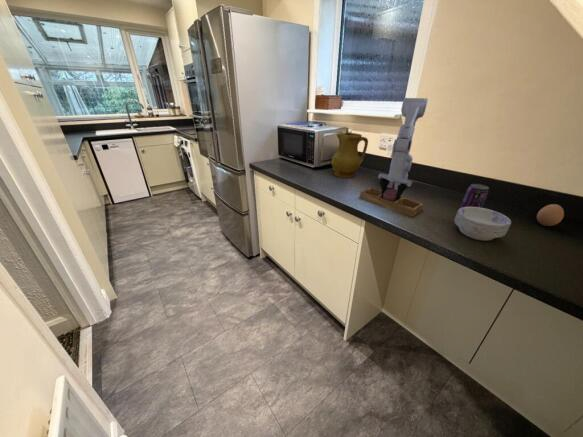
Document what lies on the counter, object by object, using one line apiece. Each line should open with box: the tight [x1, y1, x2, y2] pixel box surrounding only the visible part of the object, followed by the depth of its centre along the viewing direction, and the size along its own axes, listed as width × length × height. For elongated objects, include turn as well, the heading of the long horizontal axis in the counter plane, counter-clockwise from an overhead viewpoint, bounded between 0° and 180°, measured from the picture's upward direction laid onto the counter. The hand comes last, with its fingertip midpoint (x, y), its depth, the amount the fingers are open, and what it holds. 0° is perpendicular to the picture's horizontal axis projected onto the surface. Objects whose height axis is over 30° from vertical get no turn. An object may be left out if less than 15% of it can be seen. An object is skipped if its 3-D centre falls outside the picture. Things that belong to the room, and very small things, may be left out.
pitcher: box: [331, 131, 369, 179], centre depth 140 cm, size 17×19×25 cm
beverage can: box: [459, 183, 490, 209], centre depth 98 cm, size 7×7×12 cm
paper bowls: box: [454, 207, 512, 242], centre depth 83 cm, size 15×15×8 cm
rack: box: [359, 187, 424, 218], centre depth 107 cm, size 9×26×4 cm, turn 41°
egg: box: [536, 203, 565, 227], centre depth 90 cm, size 7×7×9 cm
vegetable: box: [383, 182, 398, 202], centre depth 105 cm, size 6×6×10 cm
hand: (390, 197), depth 106 cm, fingers closed on vegetable, 6 cm apart
